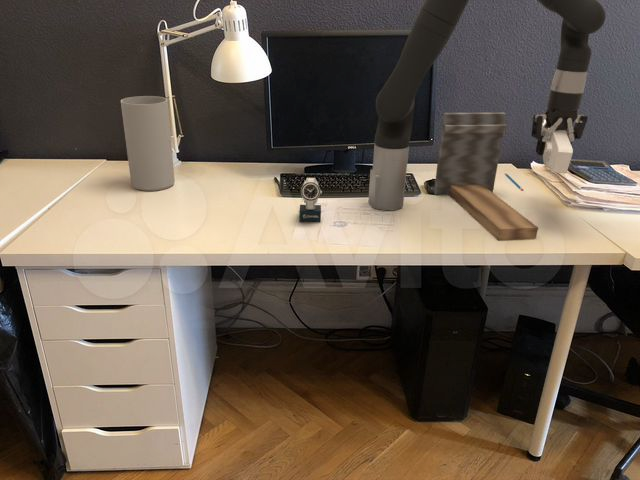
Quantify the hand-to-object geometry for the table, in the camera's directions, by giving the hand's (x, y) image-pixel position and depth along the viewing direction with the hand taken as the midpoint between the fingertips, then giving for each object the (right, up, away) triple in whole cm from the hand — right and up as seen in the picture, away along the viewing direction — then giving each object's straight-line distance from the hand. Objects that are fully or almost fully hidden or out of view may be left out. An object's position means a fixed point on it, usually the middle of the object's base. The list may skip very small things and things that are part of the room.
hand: (551, 154), depth 140 cm
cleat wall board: (-15, -15, +7) cm, 22 cm away
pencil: (+2, -4, +33) cm, 34 cm away
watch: (-63, -17, +1) cm, 65 cm away
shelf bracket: (0, -2, +3) cm, 4 cm away
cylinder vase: (-111, -6, +21) cm, 113 cm away
